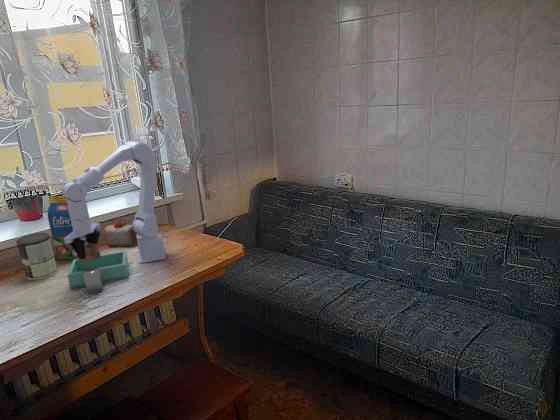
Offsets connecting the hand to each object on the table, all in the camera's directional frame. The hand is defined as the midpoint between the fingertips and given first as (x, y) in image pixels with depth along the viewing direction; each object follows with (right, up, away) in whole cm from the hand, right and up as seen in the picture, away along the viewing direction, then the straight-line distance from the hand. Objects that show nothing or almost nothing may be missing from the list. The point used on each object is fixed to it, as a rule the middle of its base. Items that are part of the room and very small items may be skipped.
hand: (88, 255), depth 143 cm
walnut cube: (0, -1, 0) cm, 2 cm away
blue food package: (-15, -3, +23) cm, 28 cm away
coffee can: (-21, -8, +9) cm, 24 cm away
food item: (0, +1, +33) cm, 33 cm away
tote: (+3, -7, +4) cm, 9 cm away
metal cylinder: (+6, -11, -7) cm, 14 cm away
